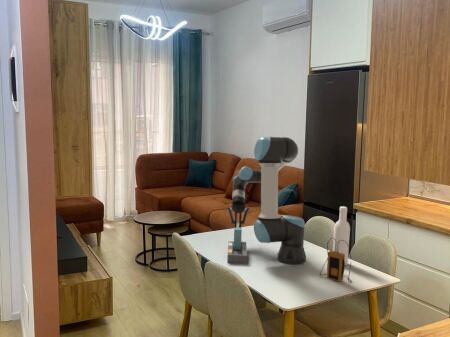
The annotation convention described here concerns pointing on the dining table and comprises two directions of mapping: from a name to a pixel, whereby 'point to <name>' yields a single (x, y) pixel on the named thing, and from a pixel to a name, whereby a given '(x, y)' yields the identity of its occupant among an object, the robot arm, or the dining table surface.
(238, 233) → the switch knob
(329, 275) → the multimeter
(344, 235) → the bottle
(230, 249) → the switch housing
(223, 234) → the dining table surface
